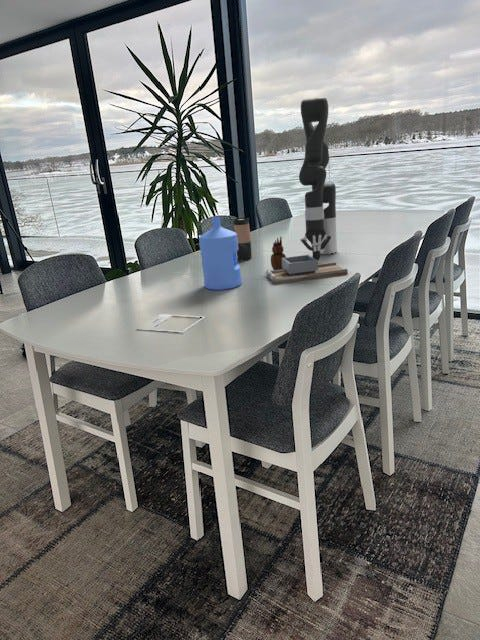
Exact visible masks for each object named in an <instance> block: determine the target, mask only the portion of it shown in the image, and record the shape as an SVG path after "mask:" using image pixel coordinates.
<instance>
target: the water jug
mask: <svg viewBox="0 0 480 640" xmlns="http://www.w3.org/2000/svg"><path fill="white" fill-rule="evenodd" d="M211 219H212V228H211V229H209V230H207V231H206V232H204V233H203V234H201V235H200V236H199V237H198V240H199V241H198V243H199V249H200V256H201V257H200V259H201V268H202V273H203V285H204V287H205V288H206V289H208V290H212V291H221V290H222V291H223V290H231V289H234V288H237V287H239V286H241V284H243V281H242V279H243V278H242V273H241V265H239V264H238V258H237V251H238V238H237V233H235V231H232V230H230V229H227V228H225V227H222V225H221V224H222V223H221V216H212V217H211Z"/></svg>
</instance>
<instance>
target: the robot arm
mask: <svg viewBox="0 0 480 640" xmlns="http://www.w3.org/2000/svg"><path fill="white" fill-rule="evenodd" d="M300 102H301V103H300V115H301V119H302V124H303V130H304V134H305V148H304V149H305V150H304V158H303V159H304V160H303V163H302V165H301V168H300V170H299V174H298V179H299V183H300V184H301V185H303V186H305V187H307V186H311V191H308V192H306V193H305V194H304V204H305V205H304V206H305V207H304V209H305V211H304V217H305V233H304V236H303V237H302V238H300V242H301V243H302V245H304V246H305V247H306V249H307V250H309V251H312V257H313V258H315V259H317V261H319V260H320V258H321V255H332V254H331V253H333V254H336V253H337V252H338V242H337V241H338V240H337V238H338V236H337V212H336V210H337V209H336V204H337V203H336V199H337V198H336V197H337V191H336V190H337V189H336V185H335V183H334V182H326V179H327V170H326V168H327V167H328V165H329V162H330V154H329V153H330V152H329V146H328V143H327V142H326V141H325V136H326V135H325V134H326V130H327V125H328V118H329V102H328V99H327V97H325V96H319V97H310V98H304V99H302V100H301V101H300ZM317 122H318V124H317V125H316V126H315V128H314V125H313V123H317ZM324 204H328V205H327V206H326V207H325V208H324ZM308 242H309V243H310V244H309V243H308ZM335 252H336V253H335Z"/></svg>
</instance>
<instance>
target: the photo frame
mask: <svg viewBox="0 0 480 640" xmlns="http://www.w3.org/2000/svg"><path fill="white" fill-rule="evenodd" d="M158 315H159V317H158V318H157V319H155V320H153V321H152V322H150V323H148V324H147V325H154V324H156V323H157V322H159V321H161V322H163V321H165V320H167V319H168V318H170V317H171V318H173V317H172V316H179V317H178V318H185V317H197V318H196V319H198V320H196V321H195V322H194V323H192V324H191V325H189V326H188V327H186V328H184V330H174V329H173V330H171V329H159V330H161V331H169V332H179V333H178V334H182V333H184V332H185V333H186V332H188V331H189V330H190V329H189V328H191V327H192V326H193V325H195V324H196V323H198V322H199V321H201V320H202V319H204V318H205V319H206V316H201V315H199V316H198V315H184V314H183V315H181V314H167V313H166V314H164V313H160V314H158ZM200 317H202V318H200ZM171 318H170V319H171ZM205 319H204V320H205ZM168 320H169V319H168ZM168 320H167V321H168ZM202 321H203V320H202ZM202 321H201V322H202ZM165 322H166V321H165ZM163 323H164V322H163ZM199 323H200V322H199ZM199 323H198V324H199ZM196 325H197V324H196ZM196 325H195V326H196ZM192 328H193V327H192ZM192 328H191V329H192ZM188 329H189V330H188ZM187 330H188V331H187ZM169 332H168V333H169ZM185 333H184V334H185Z"/></svg>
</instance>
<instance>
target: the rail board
mask: <svg viewBox="0 0 480 640" xmlns="http://www.w3.org/2000/svg"><path fill="white" fill-rule="evenodd" d="M348 273H349V271H348V268H343V267H341V266H340V265H338V264H337V261H335V262H326V263H320V264H318V270H315V273H311V271H308V272H301V273H294V276H290V274H289V273H288V272H285V271H284V269H280V270H274V269H273V270H270V269H266V277H267V278H268V279H269V281H270V282H271V283H272V284H273V285H277V284H278V285H279V284H287V283H293V282H299V281H300V282H302V281H308V280H315V279H324V278H329V277H331V278H332V277H337V276H343V275H345V276H346V275H348Z"/></svg>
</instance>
